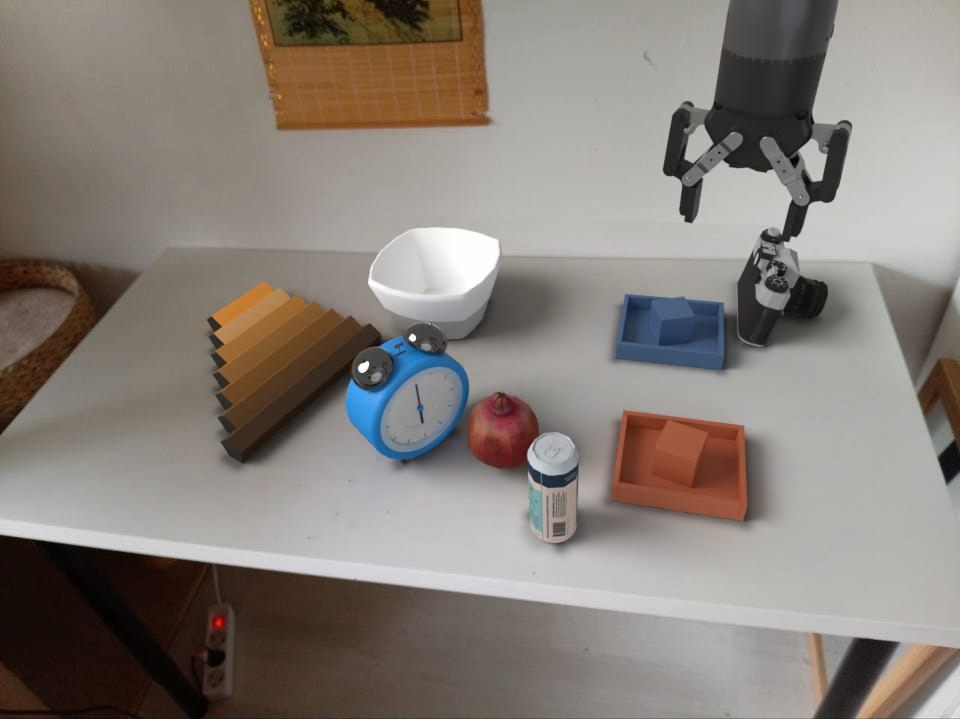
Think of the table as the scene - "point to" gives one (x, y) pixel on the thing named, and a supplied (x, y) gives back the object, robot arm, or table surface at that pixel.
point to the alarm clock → (407, 392)
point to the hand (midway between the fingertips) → (737, 228)
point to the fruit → (502, 431)
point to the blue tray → (698, 353)
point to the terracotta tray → (710, 495)
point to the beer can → (553, 487)
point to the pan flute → (277, 361)
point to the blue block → (671, 321)
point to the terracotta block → (679, 453)
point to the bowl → (437, 278)
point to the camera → (774, 289)
